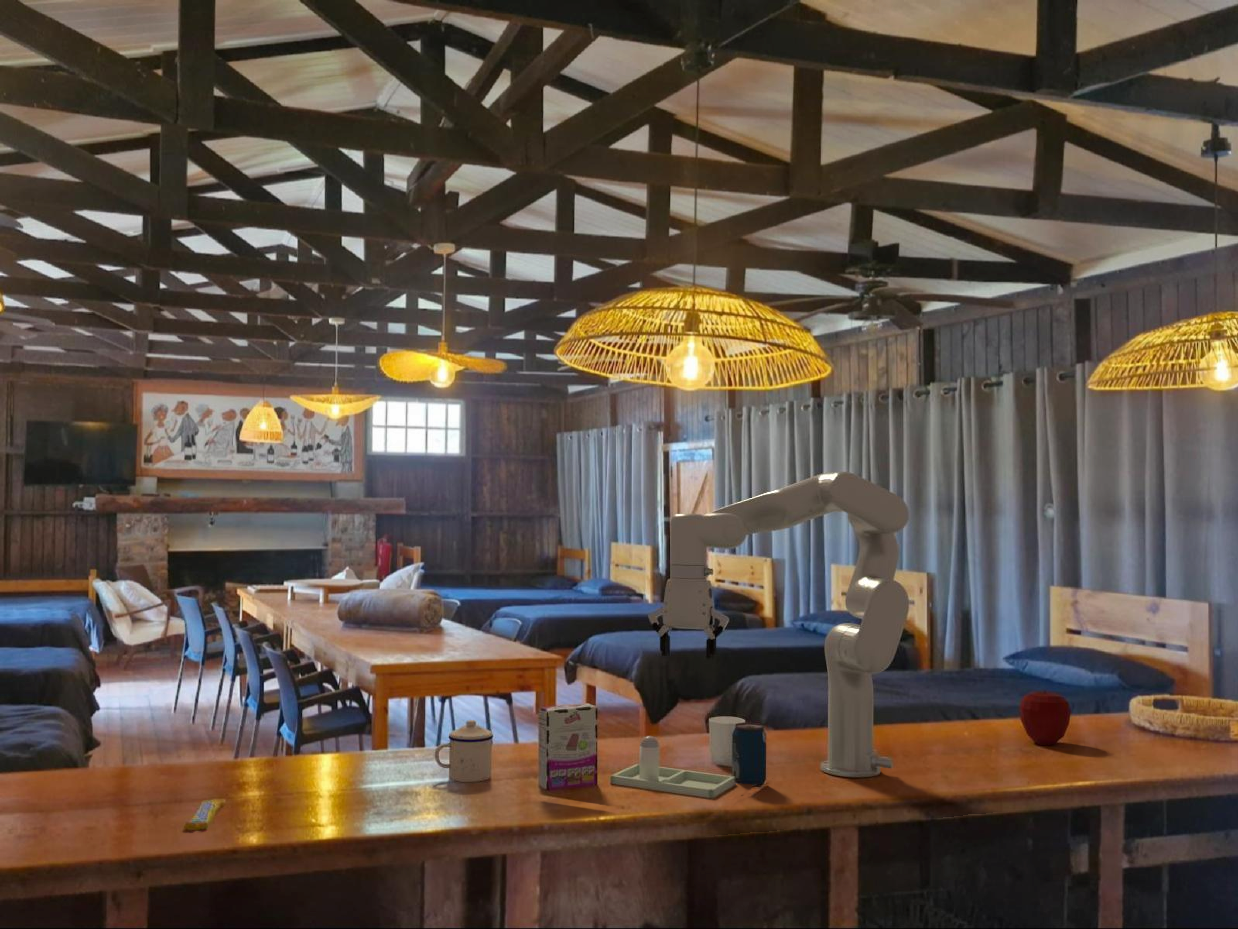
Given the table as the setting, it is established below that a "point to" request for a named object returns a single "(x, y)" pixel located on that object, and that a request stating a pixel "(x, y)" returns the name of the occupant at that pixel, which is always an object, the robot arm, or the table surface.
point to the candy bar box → (567, 746)
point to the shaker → (649, 759)
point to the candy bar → (204, 814)
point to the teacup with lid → (468, 753)
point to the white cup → (722, 739)
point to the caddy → (676, 781)
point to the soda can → (749, 754)
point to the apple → (1045, 716)
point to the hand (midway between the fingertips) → (687, 656)
